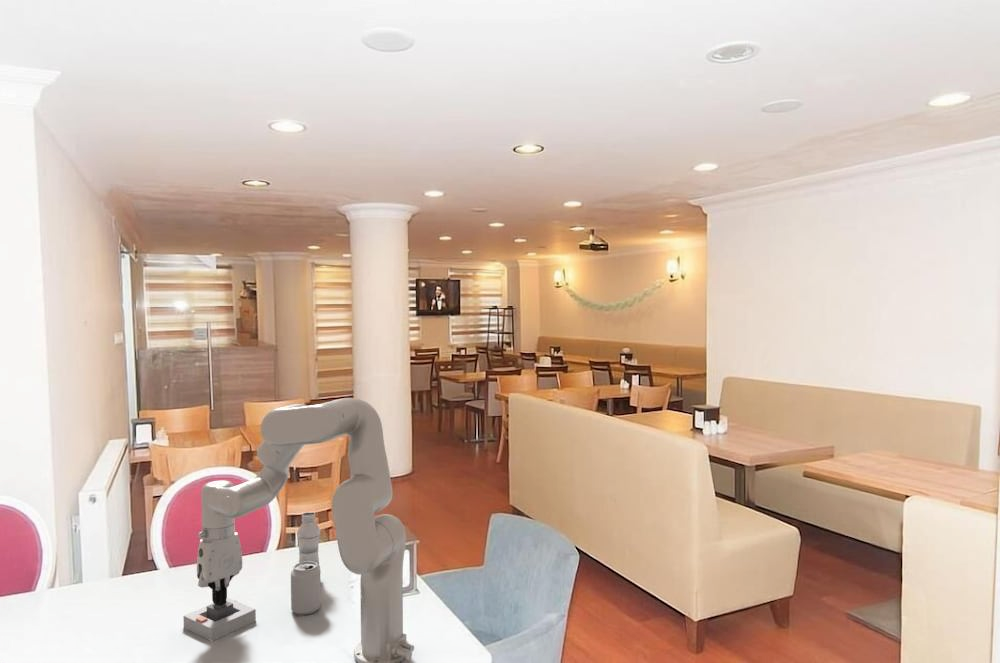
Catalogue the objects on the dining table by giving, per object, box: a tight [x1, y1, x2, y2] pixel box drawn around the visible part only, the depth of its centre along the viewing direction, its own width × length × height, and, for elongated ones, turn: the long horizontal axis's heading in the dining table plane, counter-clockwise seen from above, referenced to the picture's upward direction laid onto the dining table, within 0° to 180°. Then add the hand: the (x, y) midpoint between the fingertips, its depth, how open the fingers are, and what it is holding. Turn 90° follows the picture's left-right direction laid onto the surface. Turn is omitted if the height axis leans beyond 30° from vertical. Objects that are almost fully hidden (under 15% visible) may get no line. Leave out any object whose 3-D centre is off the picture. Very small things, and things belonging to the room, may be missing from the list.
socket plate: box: [183, 597, 257, 642], centre depth 161 cm, size 12×12×4 cm
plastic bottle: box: [296, 511, 322, 574], centre depth 185 cm, size 6×7×20 cm
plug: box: [206, 601, 233, 622], centre depth 160 cm, size 4×4×5 cm
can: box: [290, 561, 322, 616], centre depth 168 cm, size 8×8×12 cm
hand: (219, 603), depth 160 cm, fingers closed
